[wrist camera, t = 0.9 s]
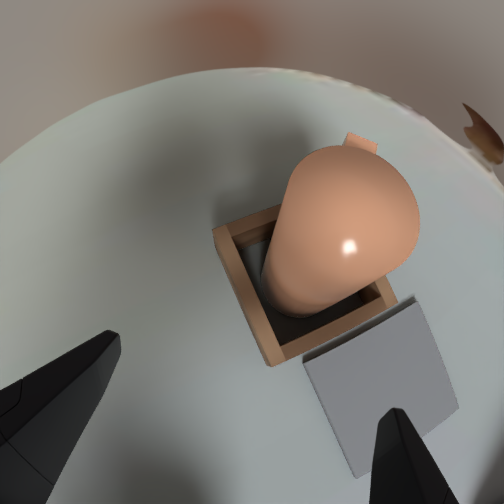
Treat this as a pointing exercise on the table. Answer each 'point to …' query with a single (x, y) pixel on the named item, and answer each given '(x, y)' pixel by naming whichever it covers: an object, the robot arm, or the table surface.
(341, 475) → the table surface
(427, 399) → the mat
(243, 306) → the holder
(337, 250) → the tan dome with tab
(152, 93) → the table surface
